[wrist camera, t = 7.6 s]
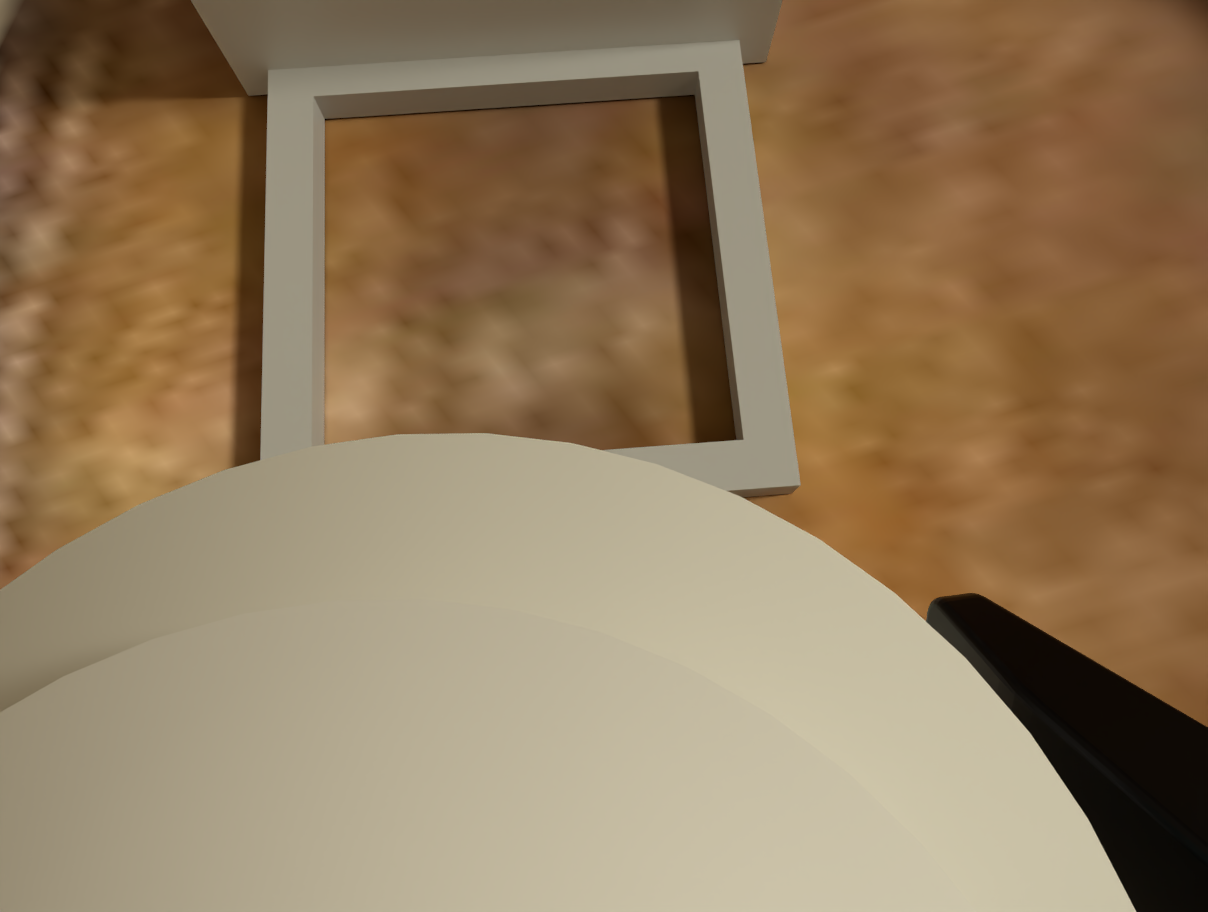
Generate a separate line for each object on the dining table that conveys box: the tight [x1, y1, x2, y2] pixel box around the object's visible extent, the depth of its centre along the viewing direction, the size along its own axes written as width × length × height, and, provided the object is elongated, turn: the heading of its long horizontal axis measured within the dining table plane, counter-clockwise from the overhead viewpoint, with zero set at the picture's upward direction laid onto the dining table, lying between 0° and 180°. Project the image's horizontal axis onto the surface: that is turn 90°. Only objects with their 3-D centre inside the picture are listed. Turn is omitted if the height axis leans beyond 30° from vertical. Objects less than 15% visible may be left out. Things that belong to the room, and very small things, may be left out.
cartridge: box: [0, 433, 1136, 912], centre depth 9 cm, size 6×6×14 cm
